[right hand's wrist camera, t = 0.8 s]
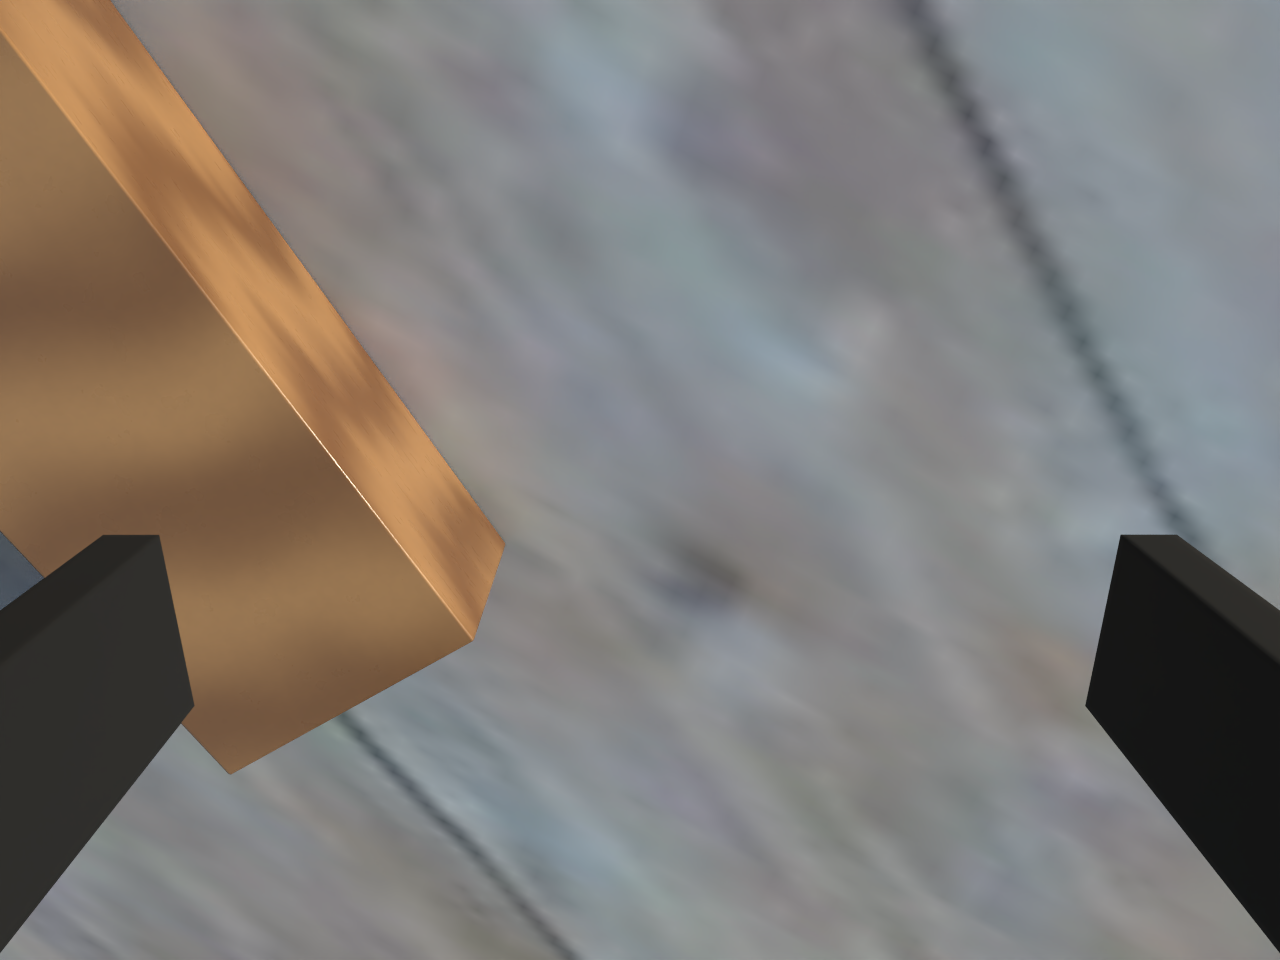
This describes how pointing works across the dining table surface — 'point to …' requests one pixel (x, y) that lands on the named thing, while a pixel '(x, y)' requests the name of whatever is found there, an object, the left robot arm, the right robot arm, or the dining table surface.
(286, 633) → the wide beam
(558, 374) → the dining table surface
